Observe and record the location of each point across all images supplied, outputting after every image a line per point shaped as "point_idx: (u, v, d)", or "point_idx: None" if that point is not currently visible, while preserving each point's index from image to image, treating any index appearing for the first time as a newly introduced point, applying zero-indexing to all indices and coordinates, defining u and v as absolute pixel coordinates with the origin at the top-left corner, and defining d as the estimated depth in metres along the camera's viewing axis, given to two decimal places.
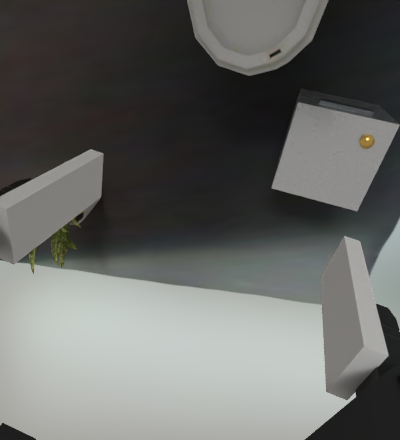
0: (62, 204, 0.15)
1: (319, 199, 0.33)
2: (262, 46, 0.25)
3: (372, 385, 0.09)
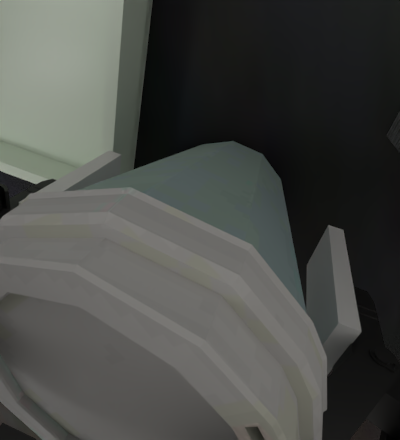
0: None
1: None
2: None
3: (346, 361, 0.09)
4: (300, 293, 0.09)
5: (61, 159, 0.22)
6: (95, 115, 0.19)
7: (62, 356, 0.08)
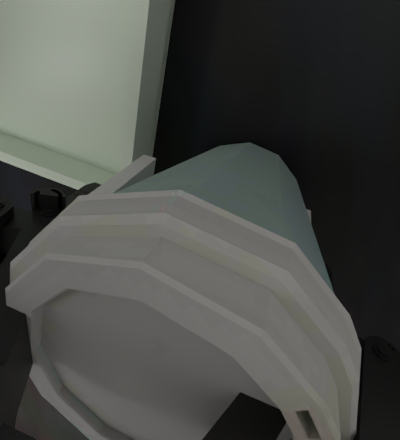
0: None
1: None
2: None
3: None
4: (331, 289, 0.09)
5: (80, 158, 0.23)
6: (115, 116, 0.20)
7: (107, 349, 0.09)
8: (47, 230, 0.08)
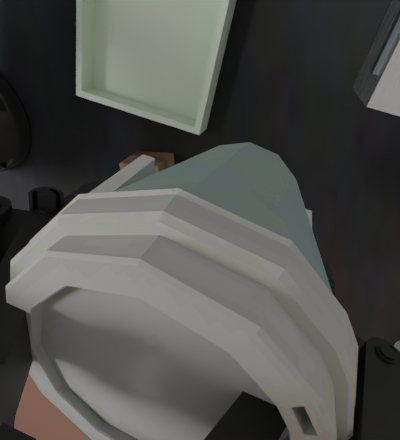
0: None
1: None
2: None
3: None
4: (329, 287, 0.09)
5: (166, 109, 0.37)
6: (192, 81, 0.35)
7: (106, 346, 0.09)
8: (46, 228, 0.08)
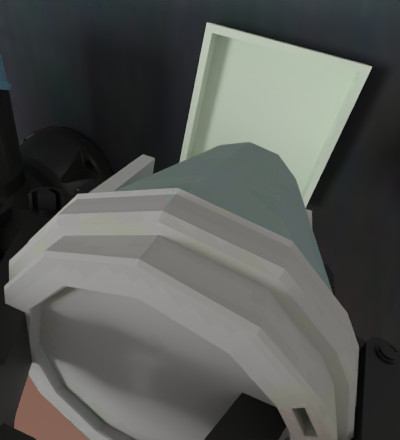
0: None
1: None
2: None
3: None
4: (329, 287, 0.09)
5: None
6: (297, 160, 0.36)
7: (105, 347, 0.09)
8: (45, 228, 0.08)
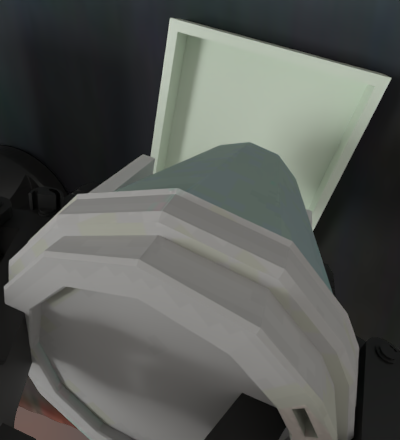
0: None
1: None
2: None
3: None
4: (329, 288, 0.09)
5: None
6: None
7: (105, 347, 0.09)
8: (45, 228, 0.08)
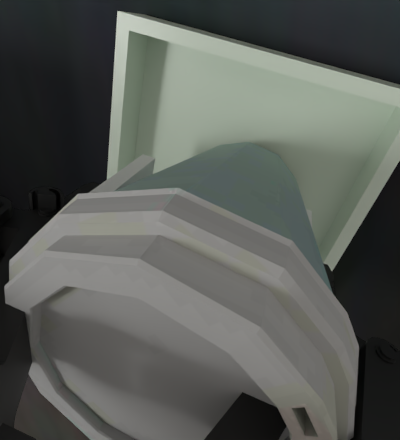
0: None
1: None
2: None
3: None
4: (329, 287, 0.09)
5: None
6: None
7: (106, 347, 0.09)
8: (46, 228, 0.08)
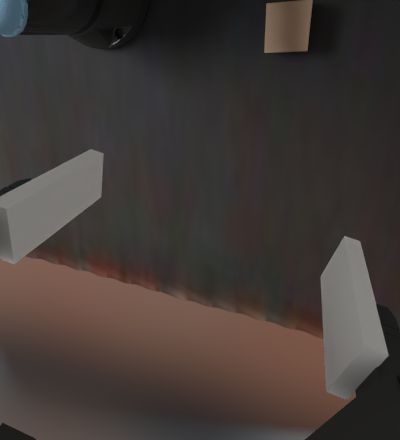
0: (62, 204, 0.15)
1: None
2: None
3: (372, 385, 0.09)
4: None
5: None
6: None
7: None
8: None
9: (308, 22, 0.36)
